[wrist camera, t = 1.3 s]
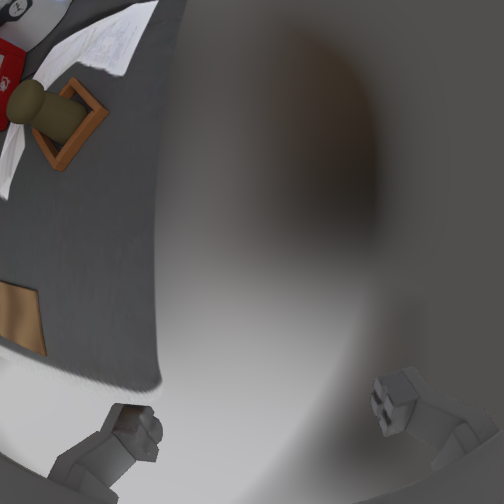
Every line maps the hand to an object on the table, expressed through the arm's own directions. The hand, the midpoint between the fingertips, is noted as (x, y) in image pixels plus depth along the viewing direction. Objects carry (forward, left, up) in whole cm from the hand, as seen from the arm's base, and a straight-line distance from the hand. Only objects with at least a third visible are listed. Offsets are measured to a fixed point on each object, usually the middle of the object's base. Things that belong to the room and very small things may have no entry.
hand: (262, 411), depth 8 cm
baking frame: (-33, -3, -18) cm, 38 cm away
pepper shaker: (-33, -3, -19) cm, 38 cm away
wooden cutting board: (-24, -32, -18) cm, 44 cm away
